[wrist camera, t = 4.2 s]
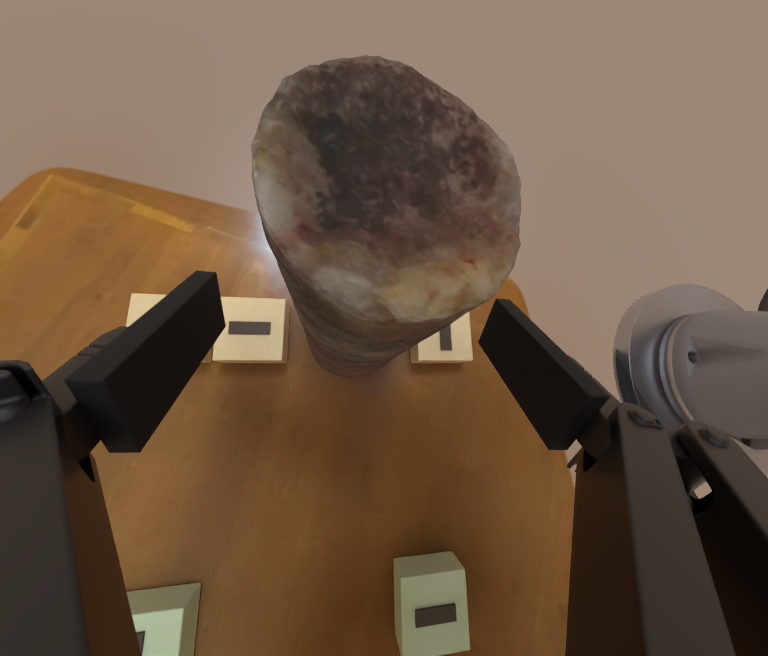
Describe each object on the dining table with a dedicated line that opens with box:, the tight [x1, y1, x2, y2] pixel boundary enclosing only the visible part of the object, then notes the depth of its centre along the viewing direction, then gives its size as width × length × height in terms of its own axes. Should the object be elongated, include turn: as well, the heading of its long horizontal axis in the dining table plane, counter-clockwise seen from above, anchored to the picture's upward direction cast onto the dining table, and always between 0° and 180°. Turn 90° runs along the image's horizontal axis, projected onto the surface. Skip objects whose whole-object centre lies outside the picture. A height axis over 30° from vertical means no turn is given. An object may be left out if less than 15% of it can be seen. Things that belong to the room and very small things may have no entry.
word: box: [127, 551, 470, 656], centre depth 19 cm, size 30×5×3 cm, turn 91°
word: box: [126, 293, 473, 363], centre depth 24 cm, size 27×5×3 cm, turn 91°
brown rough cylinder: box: [251, 56, 521, 378], centre depth 16 cm, size 8×7×20 cm
